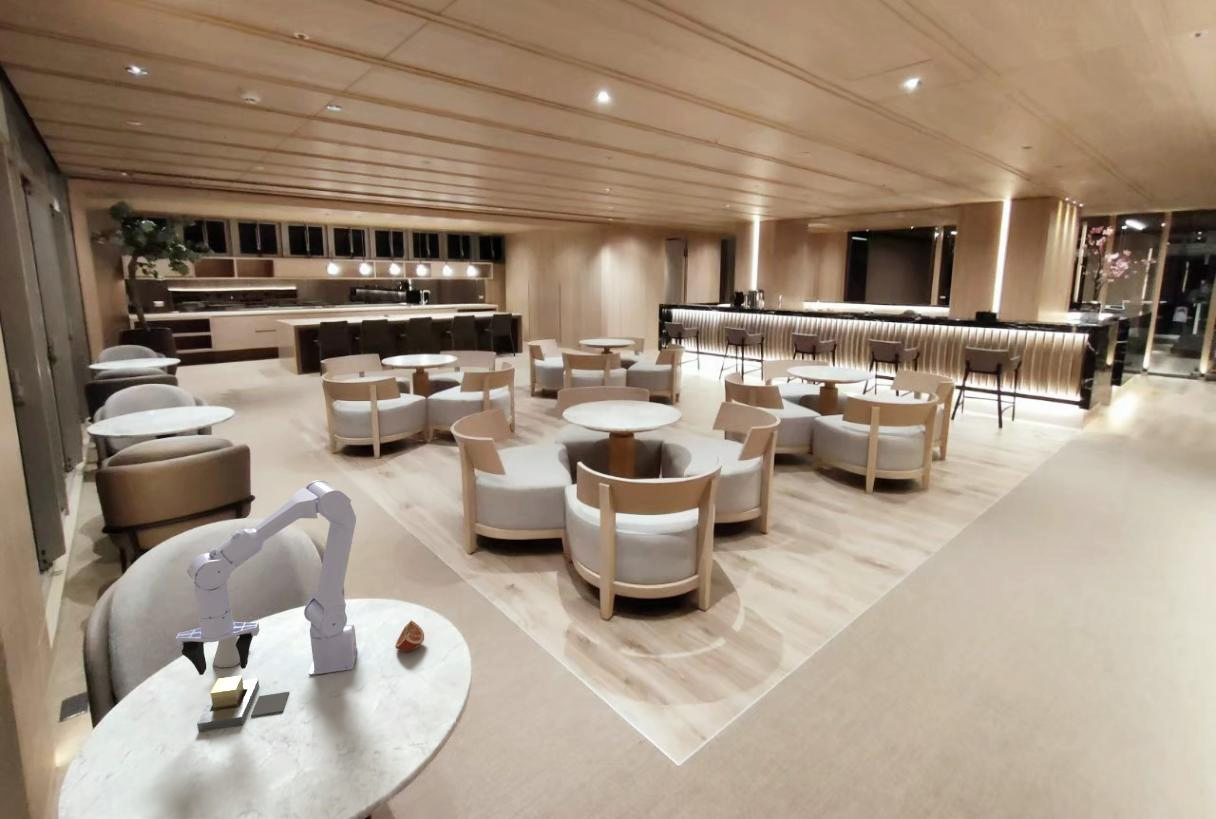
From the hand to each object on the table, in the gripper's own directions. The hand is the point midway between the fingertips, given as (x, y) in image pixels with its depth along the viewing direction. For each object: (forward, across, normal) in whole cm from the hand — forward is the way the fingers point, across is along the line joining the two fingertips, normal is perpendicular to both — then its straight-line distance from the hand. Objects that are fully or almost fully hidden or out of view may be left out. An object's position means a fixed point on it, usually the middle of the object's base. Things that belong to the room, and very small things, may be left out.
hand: (223, 668), depth 128 cm
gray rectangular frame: (+10, 0, 0) cm, 10 cm away
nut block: (+10, 0, 0) cm, 10 cm away
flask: (+10, +4, -18) cm, 21 cm away
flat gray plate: (+10, -8, +1) cm, 13 cm away
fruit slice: (+10, -36, -12) cm, 40 cm away
